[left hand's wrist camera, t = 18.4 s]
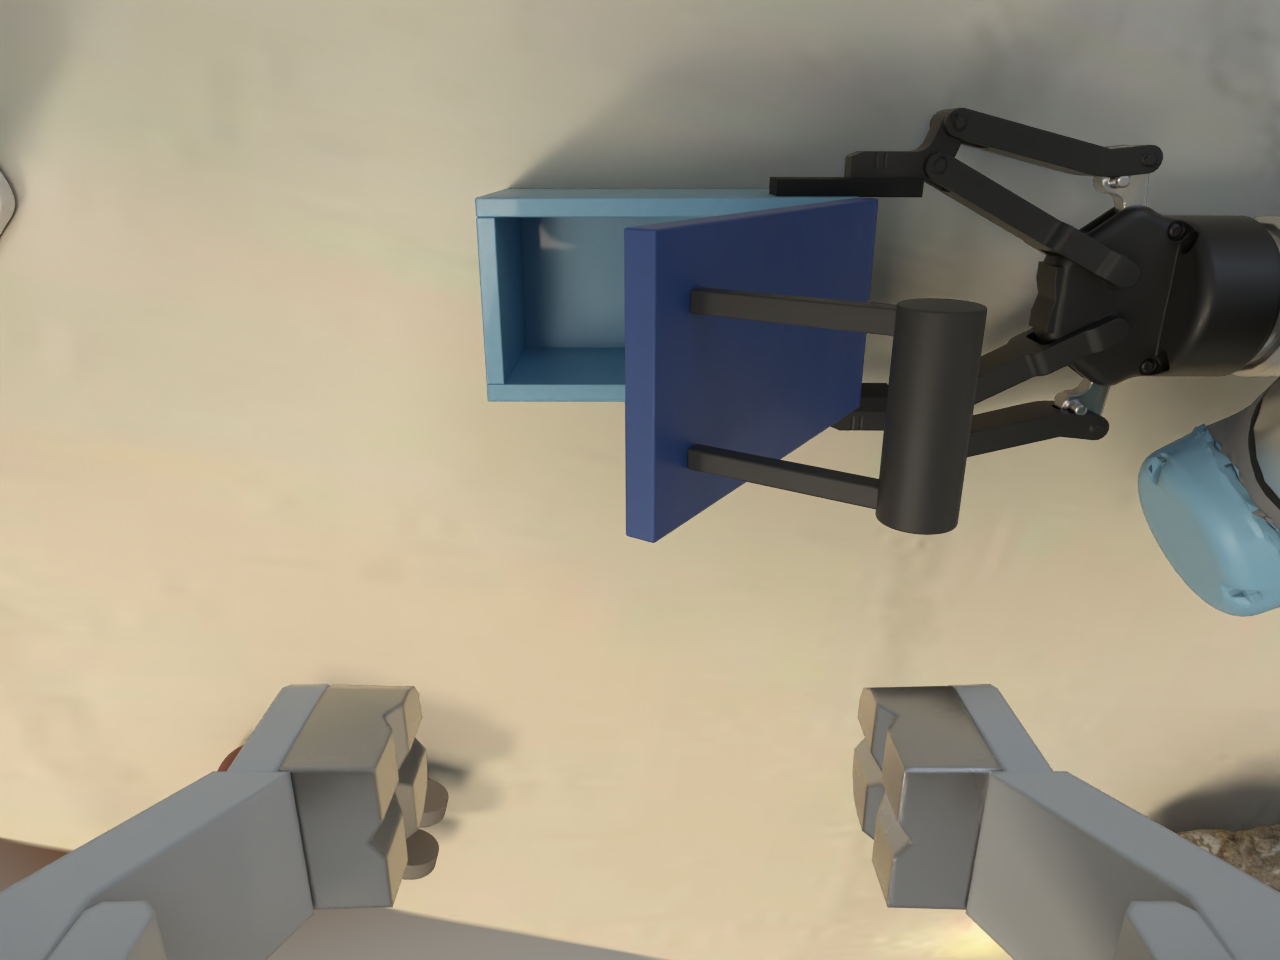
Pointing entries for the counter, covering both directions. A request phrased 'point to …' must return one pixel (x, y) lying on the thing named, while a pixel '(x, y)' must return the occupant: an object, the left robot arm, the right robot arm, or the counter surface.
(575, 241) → the chest
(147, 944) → the left robot arm
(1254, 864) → the fossil
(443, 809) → the figurine character
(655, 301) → the lid
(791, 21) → the counter surface
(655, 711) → the counter surface
